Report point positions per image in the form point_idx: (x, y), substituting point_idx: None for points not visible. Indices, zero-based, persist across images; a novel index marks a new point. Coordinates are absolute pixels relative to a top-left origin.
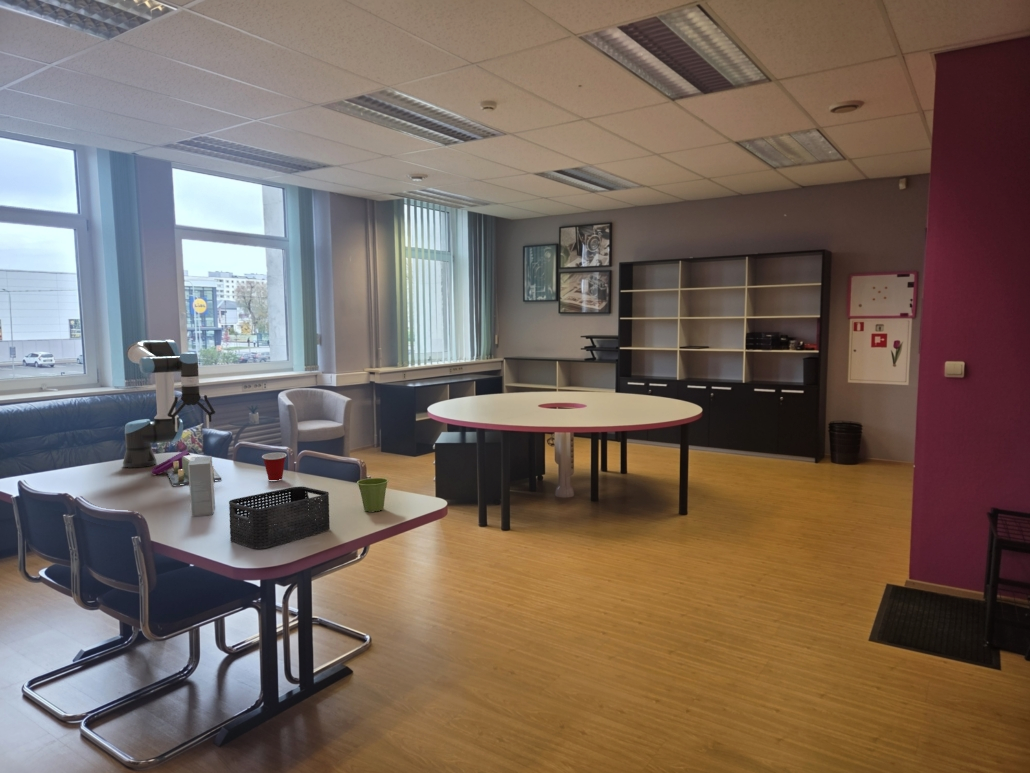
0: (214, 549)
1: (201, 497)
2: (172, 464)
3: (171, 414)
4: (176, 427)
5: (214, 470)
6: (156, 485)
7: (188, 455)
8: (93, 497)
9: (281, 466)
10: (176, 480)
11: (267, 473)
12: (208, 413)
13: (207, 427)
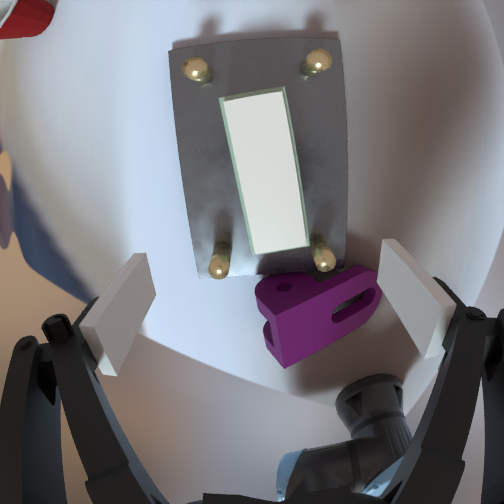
0: None
1: None
2: (331, 282)
3: (493, 338)
4: (402, 254)
5: (187, 199)
6: (385, 94)
7: (282, 247)
8: (501, 63)
9: (6, 3)
10: (328, 77)
11: (43, 2)
12: (68, 345)
13: (140, 259)
